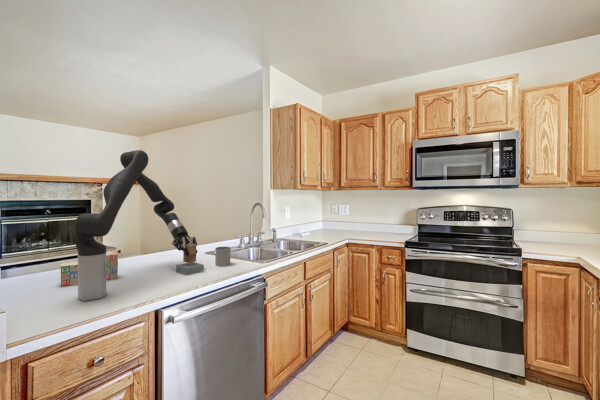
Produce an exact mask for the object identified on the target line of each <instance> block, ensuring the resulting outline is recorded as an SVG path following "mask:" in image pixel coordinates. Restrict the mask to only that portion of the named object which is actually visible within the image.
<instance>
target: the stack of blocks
mask: <svg viewBox="0 0 600 400" xmlns="http://www.w3.org/2000/svg"><path fill="white" fill-rule="evenodd" d="M118 256H119V255H118V252H117V251H115V252H106V280H107V281H112V280H113V281H114V280H118V275H119V274H118V273H119V272H118V269H119V268H118V267H119V258H118ZM69 286H78V261H73V262H64V263H61V264H60V287H61V288H62V287H69Z"/></svg>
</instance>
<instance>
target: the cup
mask: <svg viewBox="0 0 600 400" xmlns="http://www.w3.org/2000/svg"><path fill="white" fill-rule="evenodd" d="M214 255H215V258H214V260H215V265H214V266H215V267H224V268H225V267H228V266H231V247H230V246H217V247H215V254H214Z"/></svg>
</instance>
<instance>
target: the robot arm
mask: <svg viewBox="0 0 600 400" xmlns="http://www.w3.org/2000/svg"><path fill="white" fill-rule="evenodd" d="M120 163H121V166H122V167H123V169H122V170H120V171H119V172H117V173H116V174H114V175H113V176H112V177H111V178H110V179H109V181H108V182H107V183H106V185H105V186H104V188H103V191H102V192H103V193H102V194H103V198H104V201H105V206H104V208H103V210H101V212H99V213H90V212H89V213H88V212H87V213H85V212H84V213H81V214H79V215H77V218H75V223H74V238H75V248H76V250H77V262H78V285H77V299H78V300H79V301H82V302H85V301H86V302H87V301H92V300H99V299H103V297H105V296H106V295H107V281H106V253H107V245H105V244H103V243H101V242H99V241H98V240H96V239H95V237H96V238H97V237H98V238H101V237H105V236H107V235H108V234H109V233H110V231H111V229H112V227H113V226H114V223H115V220H116V218H117V215H118V213H119V211H120V209H121V208H122V206H123V204H124V203H125V200H126V199H127V197H128V195H129V193H130V192H131V191H132V188H133V187H134V185H135V184H136V183H138V184H139V185H140V187H141V189H143V191H145V193H146V195H147V196H148V198H149V199H150V201H151V202H153V203H156V204H155V205H154V206H153V211H154V213H155V214H156V215H157V216H158V217H159V218H161V220H163V221H164V223H165V225H166V226H167V229H168V231H169V233H170V234H171V236H172V237H173V240H172V242H171V244H172V246H174V247H175V249H177V250H178V251H182V252H184V253H185V255H186V256H189V255H190V253H189V252H188V250H187V248H186V246H185V245H186V244H196V247H197V246H198V243H197V238H196V236H193V237H191V236H190V235H189V233H188V232H189V231H188V230H187V229H186V227H185V226H184V224H183V223H182V221H181V219H179V217H178V215H177V214H176V213H175V212H172V211H174V209H175V204H174V203H173V201H172V200H171V199H169V198H168V197H167V196H166V195H165V193H163V190H162V189H161V188H160V186H159V185H158V183H156V182H155V181H154V180H152V179H151V178H150V177H148V176H147V175H145V174H144V173H143V171H145V169H147V166H148V165H149V156H148V154H147V152H146V151H144V150H141V149H137V150H131V151H125V152H123V153H122V154H121V155H120ZM198 251H199V250H198V249H197V248H196V255H197V253H198Z"/></svg>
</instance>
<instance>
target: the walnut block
mask: <svg viewBox="0 0 600 400" xmlns="http://www.w3.org/2000/svg"><path fill="white" fill-rule="evenodd" d="M185 246H186V248H187V250H188V252H189V253H190V255H189V256H186V255H185V253H184V252H183V251H182V252H183V256H182V257H183V261H182V262H183V263H191V262H195V263H196V262H197V254H196V249H197V246H196V244H190V243H189V244H186V245H185Z"/></svg>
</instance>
